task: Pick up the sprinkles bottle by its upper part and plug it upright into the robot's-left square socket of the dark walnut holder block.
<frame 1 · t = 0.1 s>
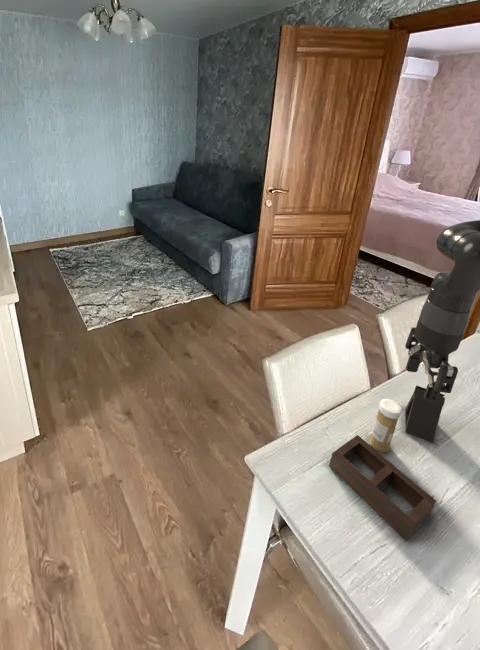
hand: (419, 384, 76), 24 cm above the table, tool pointing down, fingers open, 8 cm apart
holder: (376, 488, 78), on the table
phone stand: (417, 425, 93), on the table
sprinkles bottle: (378, 445, 88), on the table
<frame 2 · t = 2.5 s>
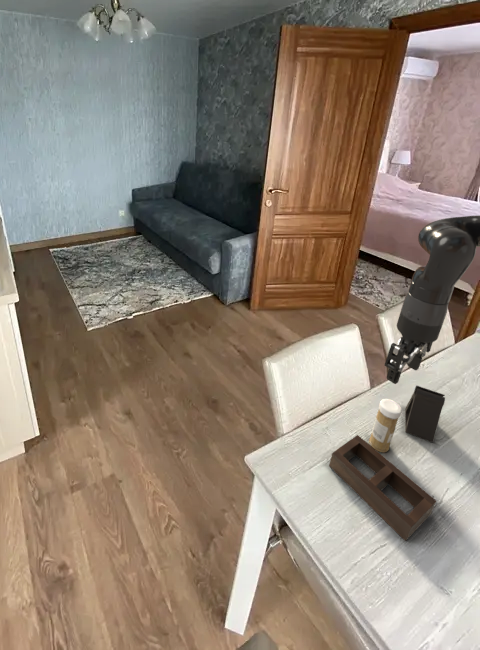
hand: (402, 374, 79), 23 cm above the table, tool pointing down, fingers open, 8 cm apart
nothing on the table moved.
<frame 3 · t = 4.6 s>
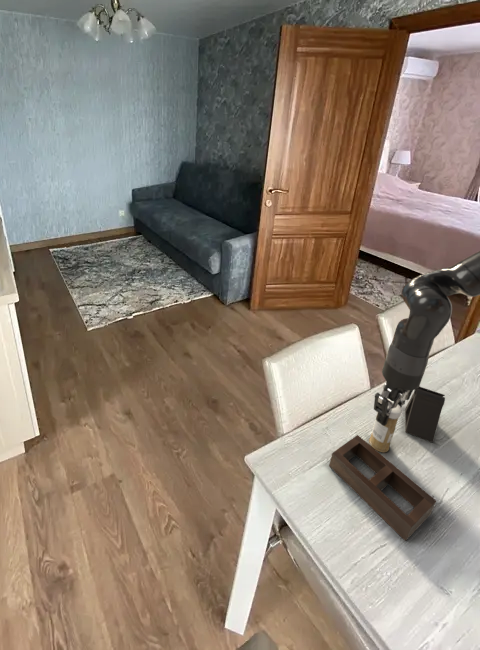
hand: (387, 417, 84), 9 cm above the table, tool pointing down, fingers closed on sprinkles bottle, 4 cm apart
sprinkles bottle: (378, 445, 88), on the table, touching gripper
everything else where it was.
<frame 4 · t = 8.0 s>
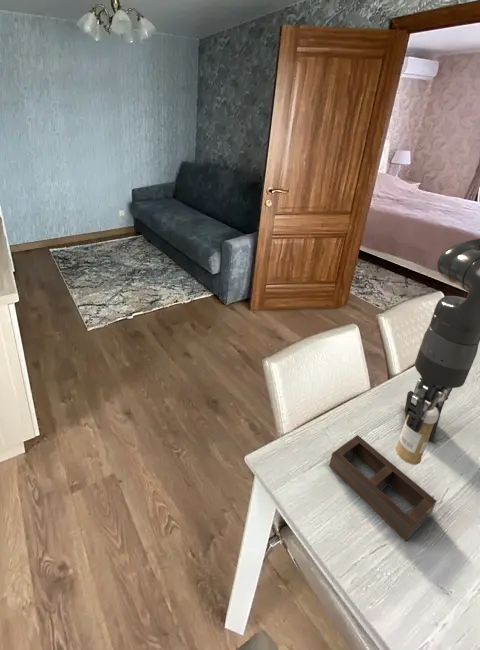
hand: (419, 422, 68), 22 cm above the table, tool pointing down, fingers closed on sprinkles bottle, 4 cm apart
sprinkles bottle: (407, 455, 72), point 13 cm above the table, touching gripper
everything else where it was.
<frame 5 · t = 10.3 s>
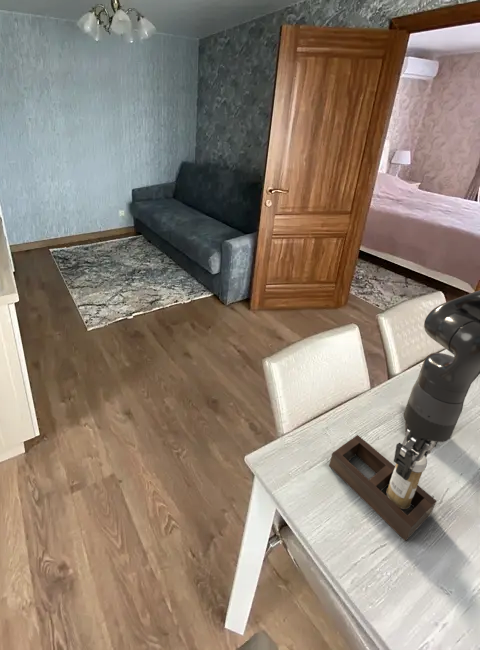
hand: (409, 469, 70), 12 cm above the table, tool pointing down, fingers closed on sprinkles bottle, 4 cm apart
sprinkles bottle: (397, 499, 74), point 2 cm above the table, touching gripper
everything else where it was.
when the fingers open (9 cm above the table, at t = 11.5 s): sprinkles bottle stays where it is, resting in holder.
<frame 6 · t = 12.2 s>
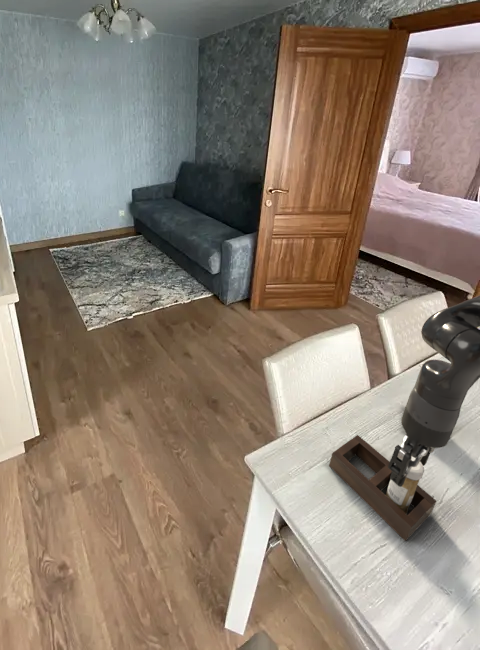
hand: (407, 471, 70), 11 cm above the table, tool pointing down, fingers open, 8 cm apart
sprinkles bottle: (394, 505, 75), resting in holder
everything else where it was.
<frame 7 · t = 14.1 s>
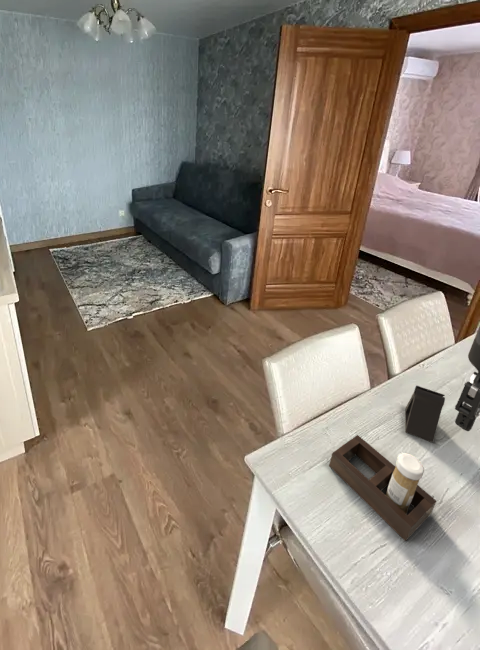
hand: (473, 416, 63), 28 cm above the table, tool pointing down, fingers open, 8 cm apart
nothing on the table moved.
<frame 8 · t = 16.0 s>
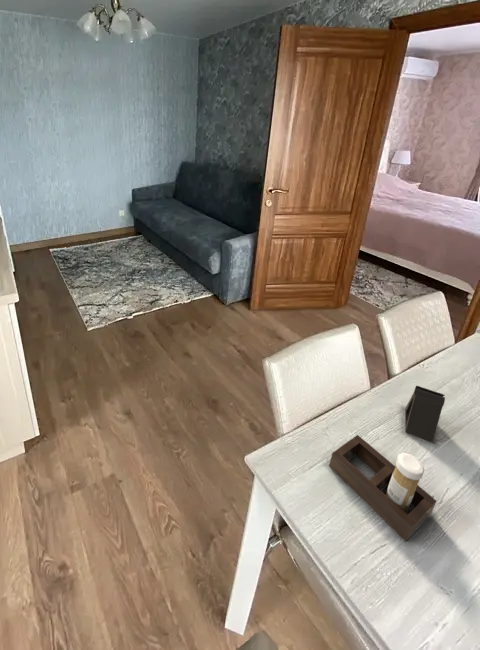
nothing on the table moved.
at the end: sprinkles bottle 0.3 cm from the target spot in the holder, point 0.0 cm above the holder's base; sprinkles bottle tilted 0° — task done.
